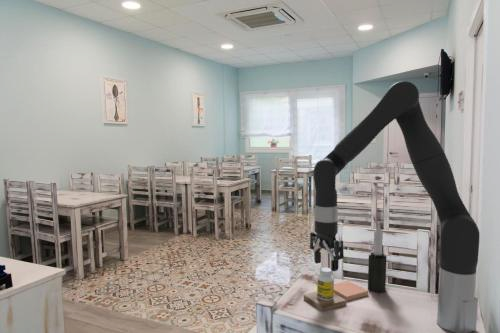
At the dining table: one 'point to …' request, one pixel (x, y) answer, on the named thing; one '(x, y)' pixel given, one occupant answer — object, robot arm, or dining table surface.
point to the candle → (377, 264)
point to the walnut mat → (323, 304)
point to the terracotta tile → (349, 290)
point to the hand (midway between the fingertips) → (325, 266)
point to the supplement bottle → (325, 284)
